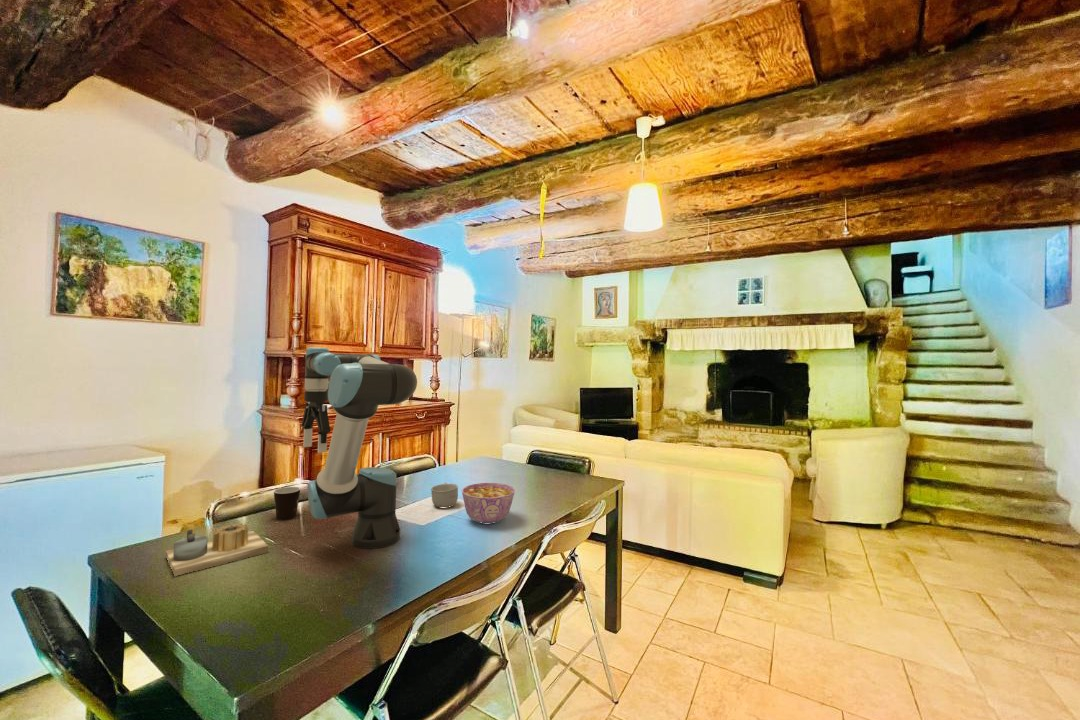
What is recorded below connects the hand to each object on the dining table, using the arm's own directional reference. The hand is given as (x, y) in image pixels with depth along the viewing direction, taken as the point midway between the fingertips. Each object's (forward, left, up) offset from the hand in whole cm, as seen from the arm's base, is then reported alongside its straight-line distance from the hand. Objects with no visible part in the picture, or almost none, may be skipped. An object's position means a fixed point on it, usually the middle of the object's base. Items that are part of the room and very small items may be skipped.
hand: (314, 449), depth 156 cm
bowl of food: (-40, -48, -27) cm, 68 cm away
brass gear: (-7, +26, -25) cm, 37 cm away
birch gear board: (-7, +29, -27) cm, 40 cm away
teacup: (-14, -47, -27) cm, 56 cm away
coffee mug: (+15, +3, -27) cm, 31 cm away
